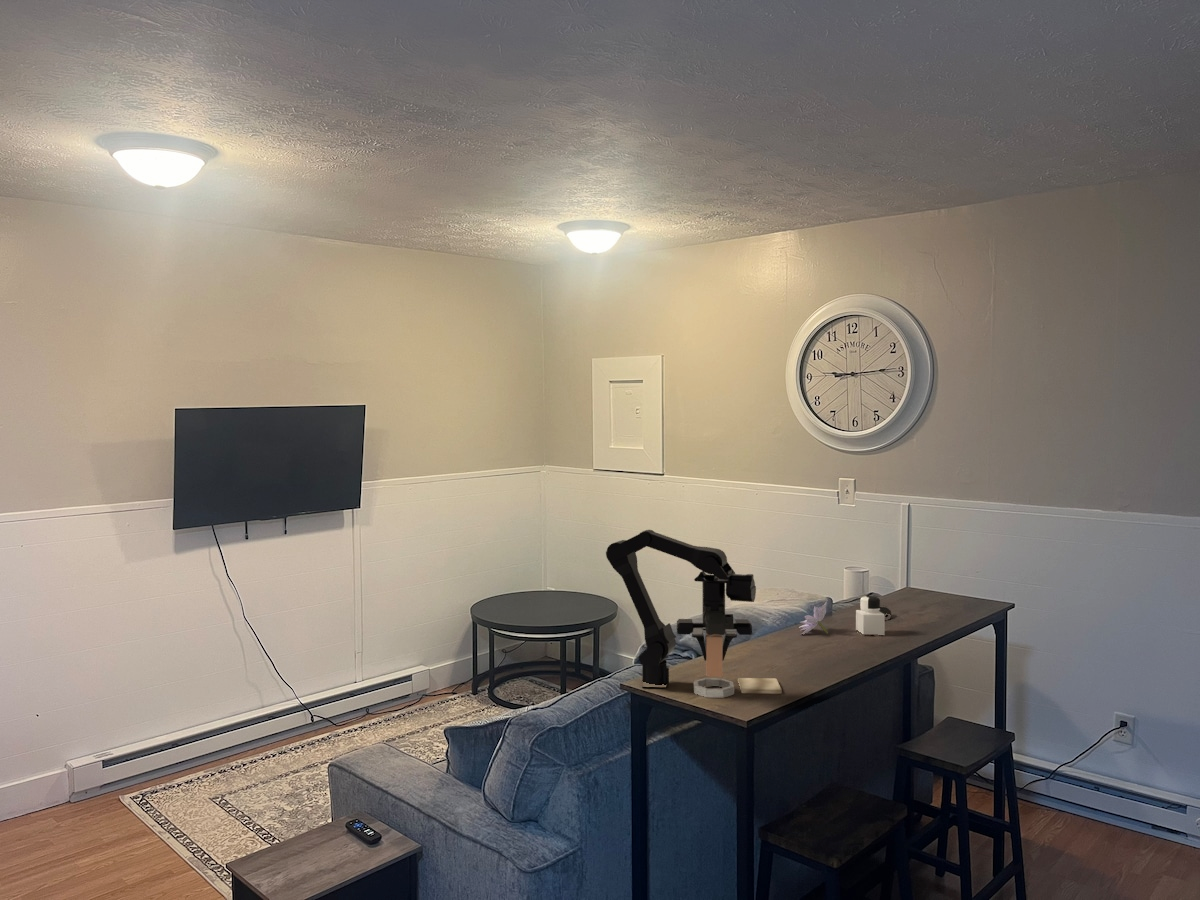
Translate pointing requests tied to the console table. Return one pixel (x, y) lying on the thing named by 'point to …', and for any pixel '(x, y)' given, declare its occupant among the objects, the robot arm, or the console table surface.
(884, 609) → the hairbrush
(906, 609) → the console table surface
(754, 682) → the maple board
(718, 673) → the peg
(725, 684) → the metal ring
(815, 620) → the water lily
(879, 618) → the medicine bottle
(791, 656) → the console table surface
